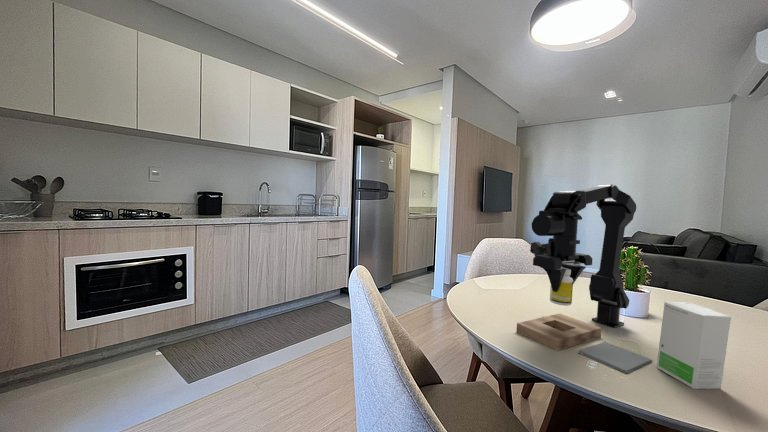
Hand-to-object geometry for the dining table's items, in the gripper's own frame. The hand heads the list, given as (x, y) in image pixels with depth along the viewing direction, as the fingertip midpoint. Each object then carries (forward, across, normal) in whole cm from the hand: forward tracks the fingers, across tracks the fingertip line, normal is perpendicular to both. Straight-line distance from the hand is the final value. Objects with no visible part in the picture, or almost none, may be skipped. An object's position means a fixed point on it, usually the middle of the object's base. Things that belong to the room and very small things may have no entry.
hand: (561, 290), depth 85 cm
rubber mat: (+13, 0, +14) cm, 19 cm away
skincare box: (+13, -5, +26) cm, 29 cm away
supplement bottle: (+4, 0, 0) cm, 4 cm away
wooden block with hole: (+12, 0, 0) cm, 12 cm away
